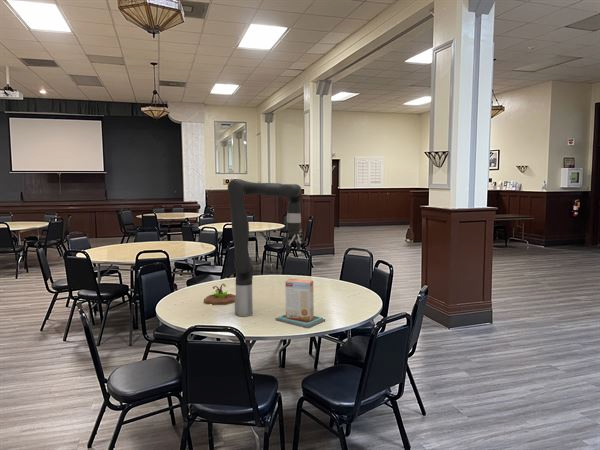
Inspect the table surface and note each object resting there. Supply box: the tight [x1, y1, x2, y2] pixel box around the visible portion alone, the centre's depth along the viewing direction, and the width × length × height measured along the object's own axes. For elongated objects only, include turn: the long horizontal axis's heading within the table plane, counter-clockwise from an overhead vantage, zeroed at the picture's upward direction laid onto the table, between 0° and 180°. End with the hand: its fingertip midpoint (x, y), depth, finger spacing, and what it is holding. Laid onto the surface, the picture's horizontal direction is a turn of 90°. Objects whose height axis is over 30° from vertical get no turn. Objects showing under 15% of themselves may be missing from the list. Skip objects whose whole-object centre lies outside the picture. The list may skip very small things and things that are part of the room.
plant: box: [203, 283, 236, 306], centre depth 271 cm, size 20×20×11 cm
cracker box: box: [285, 278, 315, 321], centre depth 230 cm, size 14×6×21 cm, turn 67°
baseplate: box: [275, 313, 326, 329], centre depth 231 cm, size 22×15×2 cm
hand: (293, 251), depth 234 cm, fingers open, 8 cm apart
